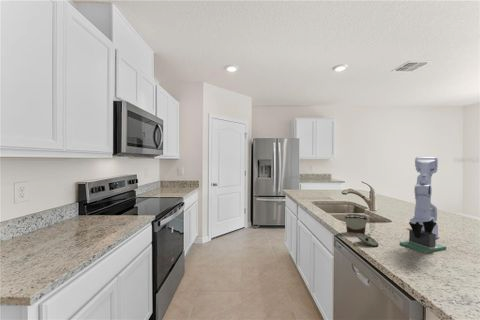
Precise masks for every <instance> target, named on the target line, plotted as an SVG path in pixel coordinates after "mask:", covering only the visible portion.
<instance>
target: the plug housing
mask: <svg viewBox="0 0 480 320" xmlns="http://www.w3.org/2000/svg"><path fill="white" fill-rule="evenodd" d="M406 230H407V231H409V234H408V236H409V238H408V239H409V240H408V241H410V242H413V243H416V244H419V245H422V246H426V247H429V248H431V247H435V243H437V241H436V239H437V238H436V234H433V233H430V232H426V231H422V230H421V235H420V238H416V237H415V236H414V233H413V230H412V228H410V227H406Z"/></svg>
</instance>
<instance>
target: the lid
mask: <svg viewBox="0 0 480 320" xmlns="http://www.w3.org/2000/svg"><path fill="white" fill-rule="evenodd" d="M355 234H356V233H355ZM356 238H357V239H358V240H360V241H361V242H362V243H364V244H366V245H367V246H371V247H379V243H378V241H376V240H375V238H373V237H371V234H369V233H367V234H366V233H365V234H356Z"/></svg>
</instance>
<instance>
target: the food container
mask: <svg viewBox="0 0 480 320" xmlns="http://www.w3.org/2000/svg"><path fill="white" fill-rule="evenodd" d="M344 219H345V225H346V227H345V229H346V233H347V234H365V235H366V227H367V221H368V220H369V219H368V217H367V216H366V215H365V214H357V213H346V214H345V215H344Z"/></svg>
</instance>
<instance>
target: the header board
mask: <svg viewBox="0 0 480 320" xmlns="http://www.w3.org/2000/svg"><path fill="white" fill-rule="evenodd" d="M399 245H400V246H403V247H406V248H409V249H412V250H414V251H417V252H421V253H424V254H427V253H433V252H437V251H438V252H439V251H444V250H447V246H445V245H443V244H439V243H437V242H435V247H431V248H429V247H426V246H422V245H419V244H416V243H413V242H410V241H409V240H404V241H403V240H402V241H399Z"/></svg>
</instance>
